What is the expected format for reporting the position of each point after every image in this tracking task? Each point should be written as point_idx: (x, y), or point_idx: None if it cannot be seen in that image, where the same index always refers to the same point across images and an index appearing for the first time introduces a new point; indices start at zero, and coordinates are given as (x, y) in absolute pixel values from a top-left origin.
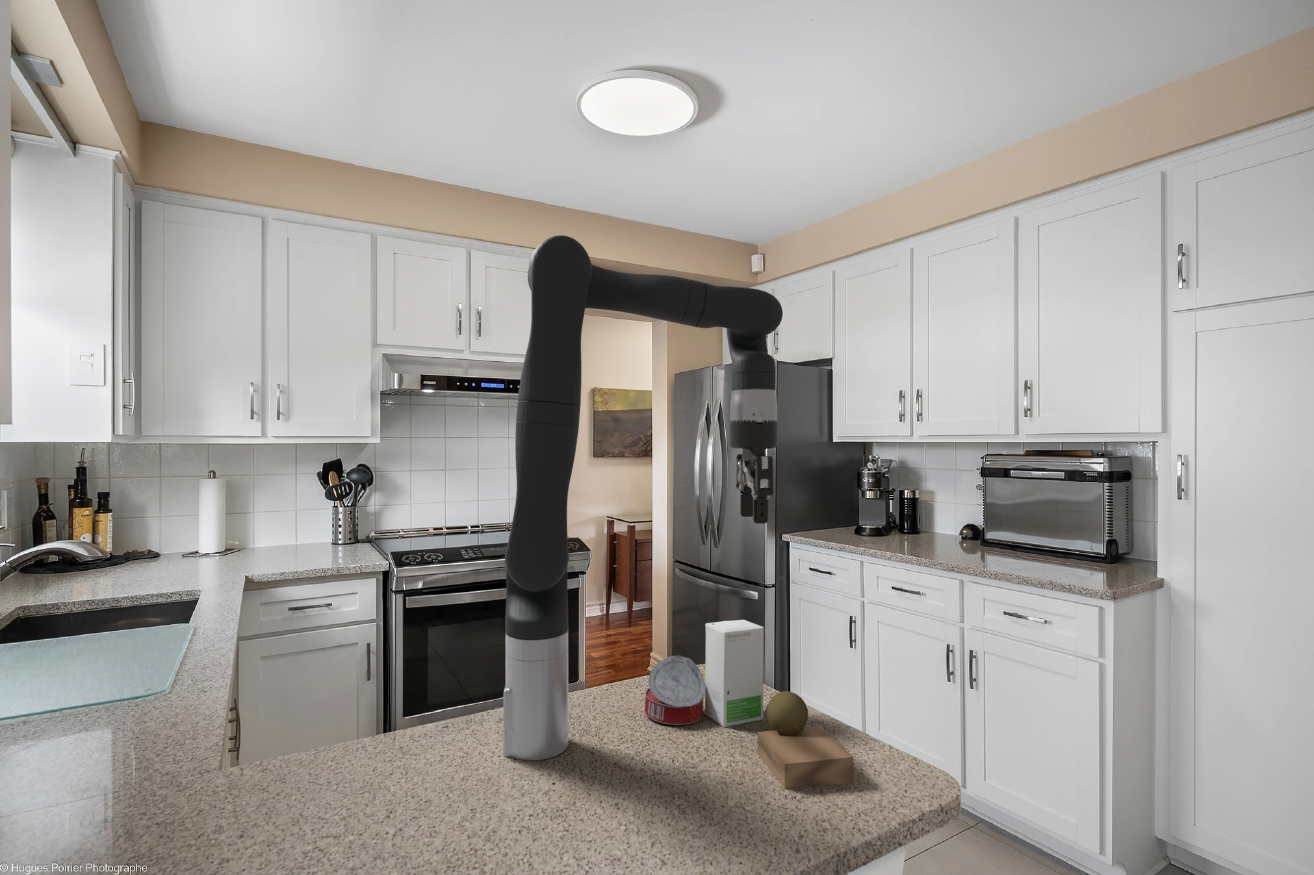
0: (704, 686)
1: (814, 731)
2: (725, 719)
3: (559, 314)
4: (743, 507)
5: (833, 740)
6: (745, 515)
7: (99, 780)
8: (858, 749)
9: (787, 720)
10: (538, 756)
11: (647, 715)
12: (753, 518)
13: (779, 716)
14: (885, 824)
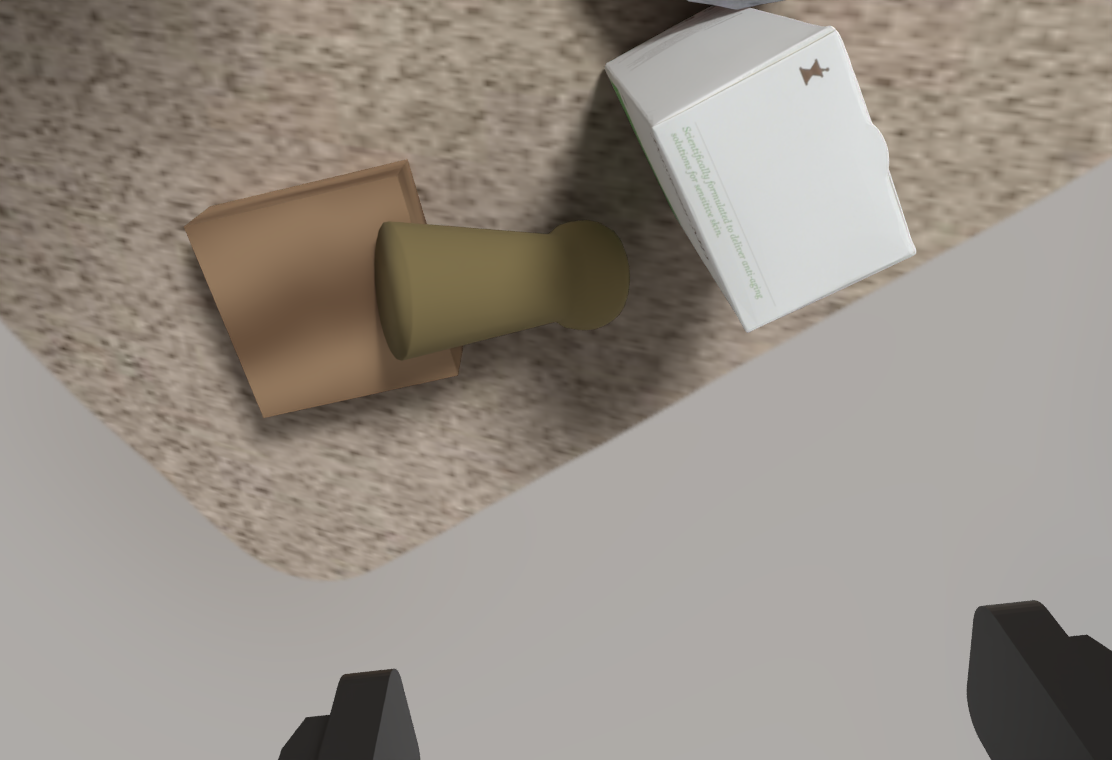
0: (732, 2)
1: None
2: (608, 75)
3: None
4: (1034, 701)
5: (361, 390)
6: (979, 645)
7: None
8: (471, 443)
9: (385, 282)
10: None
11: None
12: (353, 697)
13: (388, 261)
14: (101, 409)
